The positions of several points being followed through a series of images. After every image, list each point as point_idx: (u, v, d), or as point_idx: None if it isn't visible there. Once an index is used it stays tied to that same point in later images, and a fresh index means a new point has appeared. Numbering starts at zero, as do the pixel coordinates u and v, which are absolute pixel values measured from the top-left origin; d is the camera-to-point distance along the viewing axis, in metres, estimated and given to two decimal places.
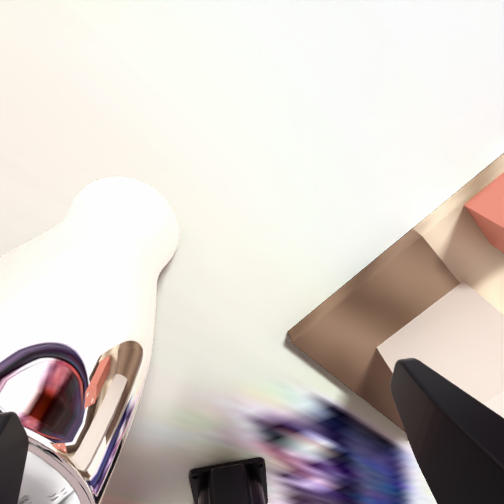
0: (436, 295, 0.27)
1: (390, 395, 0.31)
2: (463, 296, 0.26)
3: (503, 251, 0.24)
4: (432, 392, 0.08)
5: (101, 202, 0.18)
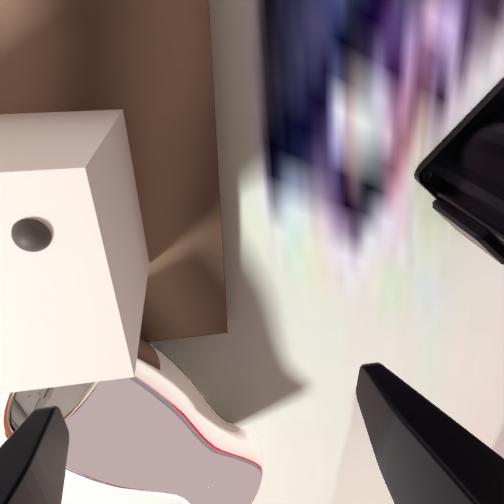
0: None
1: (181, 161, 0.18)
2: None
3: None
4: (391, 398, 0.07)
5: None
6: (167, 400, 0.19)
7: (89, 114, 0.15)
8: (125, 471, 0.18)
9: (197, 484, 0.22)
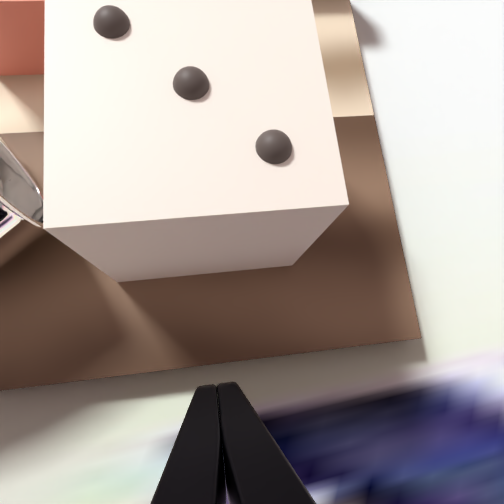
0: None
1: (244, 319, 0.17)
2: None
3: None
4: (226, 422, 0.07)
5: None
6: None
7: None
8: None
9: None
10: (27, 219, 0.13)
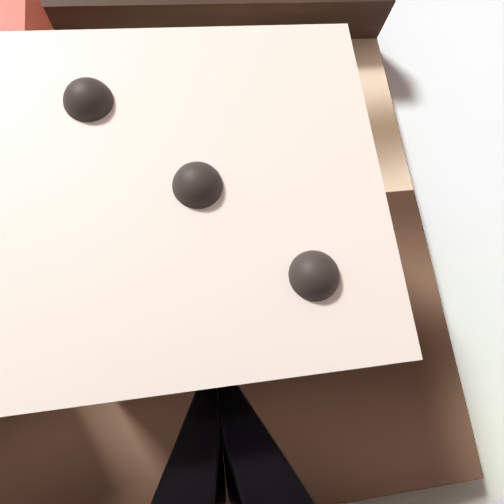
0: None
1: None
2: None
3: None
4: (226, 422, 0.07)
5: None
6: None
7: None
8: None
9: None
10: None
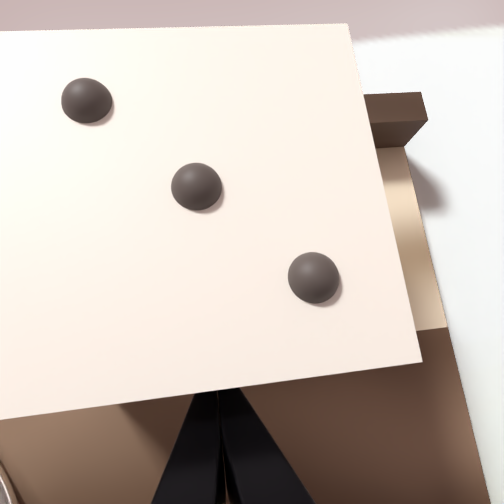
0: (92, 424, 0.13)
1: None
2: None
3: None
4: (226, 422, 0.07)
5: None
6: None
7: None
8: None
9: None
10: None
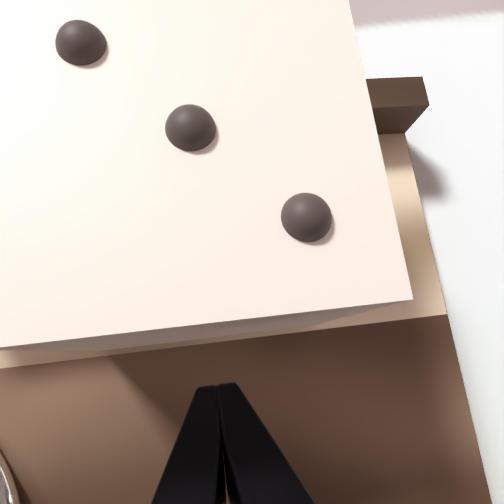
0: (90, 410, 0.13)
1: None
2: None
3: None
4: (226, 422, 0.07)
5: None
6: None
7: None
8: None
9: None
10: None
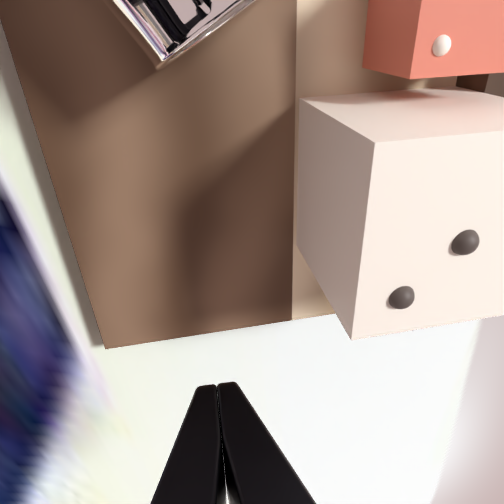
0: (257, 90, 0.17)
1: (104, 227, 0.19)
2: (452, 90, 0.17)
3: (375, 65, 0.16)
4: (226, 422, 0.07)
5: None
6: None
7: None
8: None
9: None
10: (156, 69, 0.12)
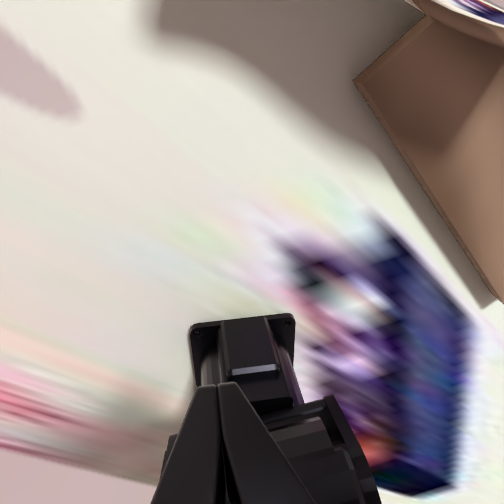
0: None
1: (484, 213, 0.22)
2: None
3: None
4: (226, 422, 0.07)
5: None
6: (496, 24, 0.13)
7: None
8: None
9: None
10: None
